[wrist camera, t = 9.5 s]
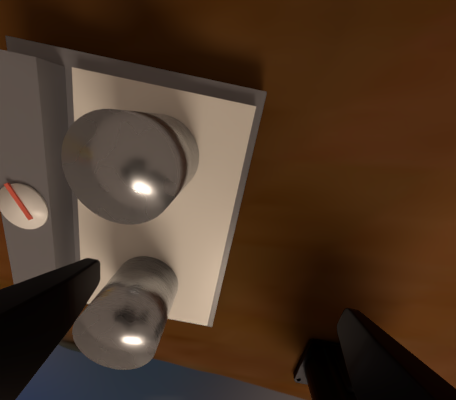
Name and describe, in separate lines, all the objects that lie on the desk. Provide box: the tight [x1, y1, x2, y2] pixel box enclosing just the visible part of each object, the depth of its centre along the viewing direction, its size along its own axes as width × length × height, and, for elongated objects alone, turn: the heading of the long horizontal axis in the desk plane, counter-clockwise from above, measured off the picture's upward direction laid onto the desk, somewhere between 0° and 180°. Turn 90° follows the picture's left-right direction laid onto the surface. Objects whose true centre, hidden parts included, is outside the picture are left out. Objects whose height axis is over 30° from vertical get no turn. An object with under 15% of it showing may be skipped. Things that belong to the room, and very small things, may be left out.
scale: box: [0, 36, 267, 327], centre depth 16 cm, size 20×16×5 cm
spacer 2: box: [72, 256, 178, 370], centre depth 15 cm, size 5×5×5 cm
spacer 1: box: [61, 109, 199, 225], centre depth 11 cm, size 5×5×5 cm
